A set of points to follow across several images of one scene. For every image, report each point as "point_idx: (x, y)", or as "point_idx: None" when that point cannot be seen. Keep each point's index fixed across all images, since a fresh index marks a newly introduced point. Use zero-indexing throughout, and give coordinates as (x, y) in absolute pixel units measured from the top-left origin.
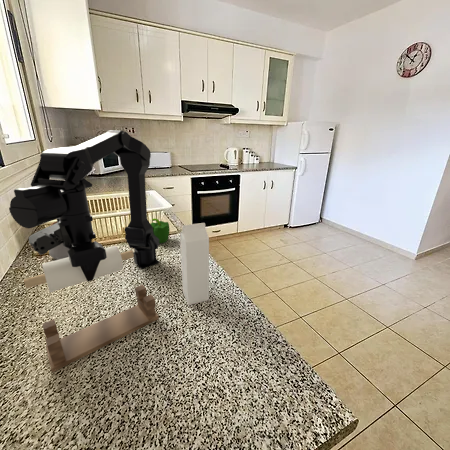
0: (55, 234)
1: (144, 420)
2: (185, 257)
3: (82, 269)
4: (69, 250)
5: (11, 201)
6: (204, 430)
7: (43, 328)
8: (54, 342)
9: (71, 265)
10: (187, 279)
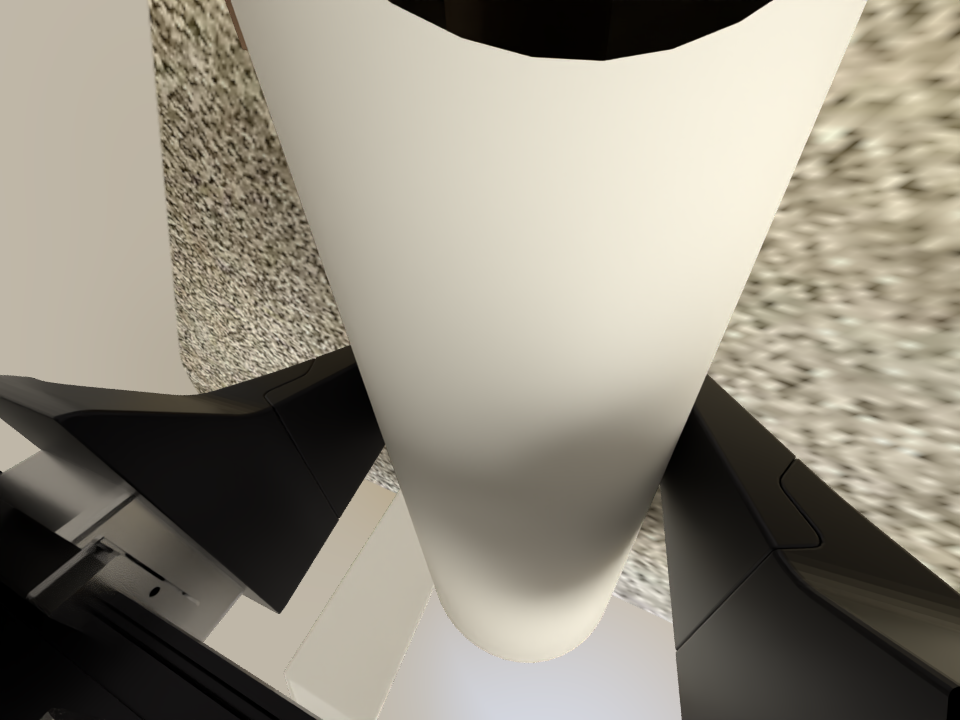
0: None
1: (199, 218)
2: (348, 593)
3: (274, 376)
4: None
5: None
6: (188, 286)
7: None
8: (232, 17)
9: (348, 338)
10: (387, 509)
